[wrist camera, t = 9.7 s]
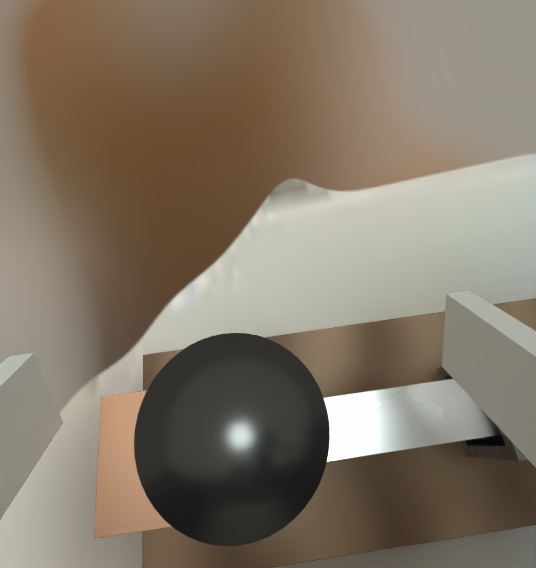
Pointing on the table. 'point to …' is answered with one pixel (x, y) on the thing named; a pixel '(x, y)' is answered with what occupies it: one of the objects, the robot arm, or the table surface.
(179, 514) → the sliding bolt
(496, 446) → the outer sleeve
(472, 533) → the base board
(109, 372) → the table surface
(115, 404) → the socket block
